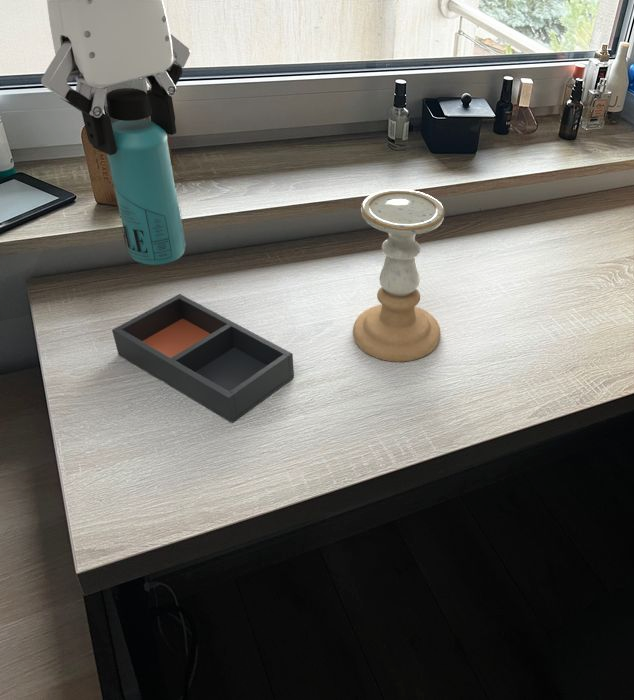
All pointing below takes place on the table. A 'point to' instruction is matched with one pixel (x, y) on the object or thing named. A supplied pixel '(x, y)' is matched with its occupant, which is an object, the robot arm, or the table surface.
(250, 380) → the two compartment tray
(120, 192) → the beverage bottle
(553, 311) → the table surface
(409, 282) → the candle holder
